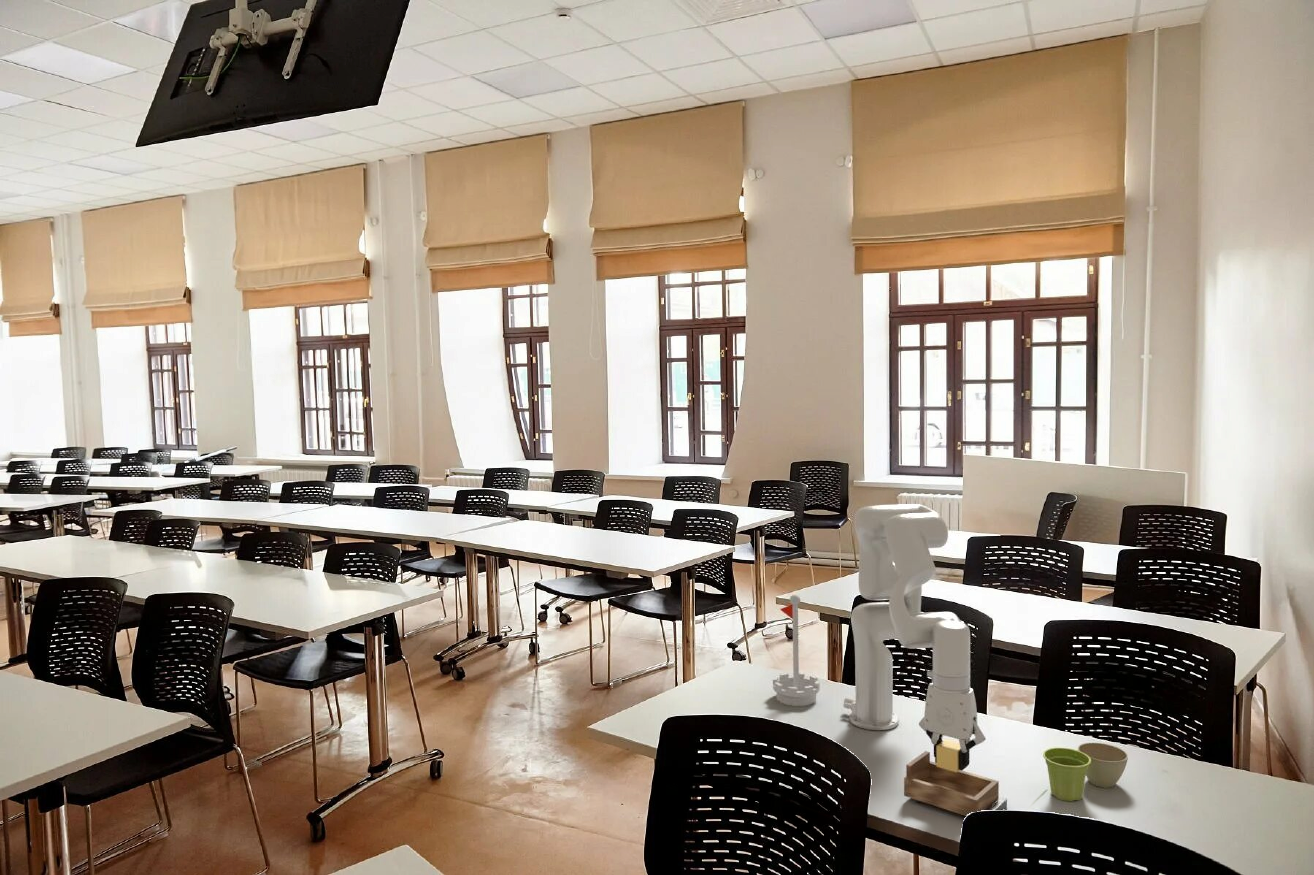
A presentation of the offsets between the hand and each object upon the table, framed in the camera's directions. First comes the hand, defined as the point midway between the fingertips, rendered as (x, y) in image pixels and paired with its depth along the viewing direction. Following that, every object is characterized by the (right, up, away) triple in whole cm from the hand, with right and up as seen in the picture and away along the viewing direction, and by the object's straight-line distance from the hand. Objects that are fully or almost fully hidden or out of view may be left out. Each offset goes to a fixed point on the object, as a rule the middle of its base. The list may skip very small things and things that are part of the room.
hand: (951, 764), depth 194 cm
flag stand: (-23, -5, +64) cm, 68 cm away
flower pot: (+37, -8, +10) cm, 39 cm away
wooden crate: (0, -9, +1) cm, 9 cm away
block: (0, 0, 0) cm, 0 cm away
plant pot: (+26, -9, +4) cm, 28 cm away
